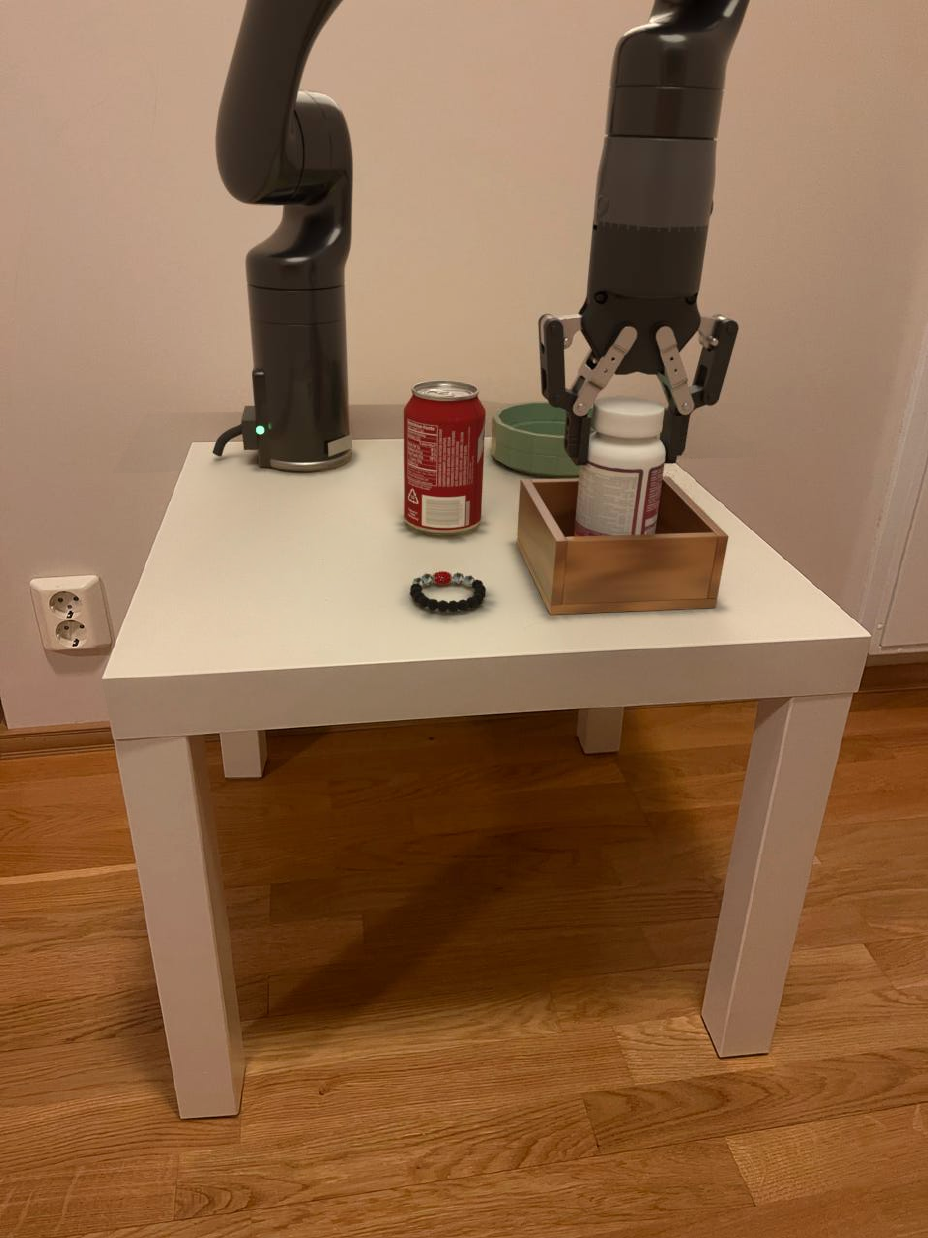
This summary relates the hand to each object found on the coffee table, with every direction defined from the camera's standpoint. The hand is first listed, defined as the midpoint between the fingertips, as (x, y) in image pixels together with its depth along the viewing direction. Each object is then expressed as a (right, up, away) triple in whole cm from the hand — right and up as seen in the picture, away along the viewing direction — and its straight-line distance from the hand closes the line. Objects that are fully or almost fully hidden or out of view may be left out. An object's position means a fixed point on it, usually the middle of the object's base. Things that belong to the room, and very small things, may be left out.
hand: (622, 460), depth 67 cm
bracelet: (-13, -10, 0) cm, 17 cm away
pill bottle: (0, -6, +3) cm, 7 cm away
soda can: (-14, -4, +12) cm, 19 cm away
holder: (0, -8, +4) cm, 9 cm away
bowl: (-2, +5, +29) cm, 29 cm away
